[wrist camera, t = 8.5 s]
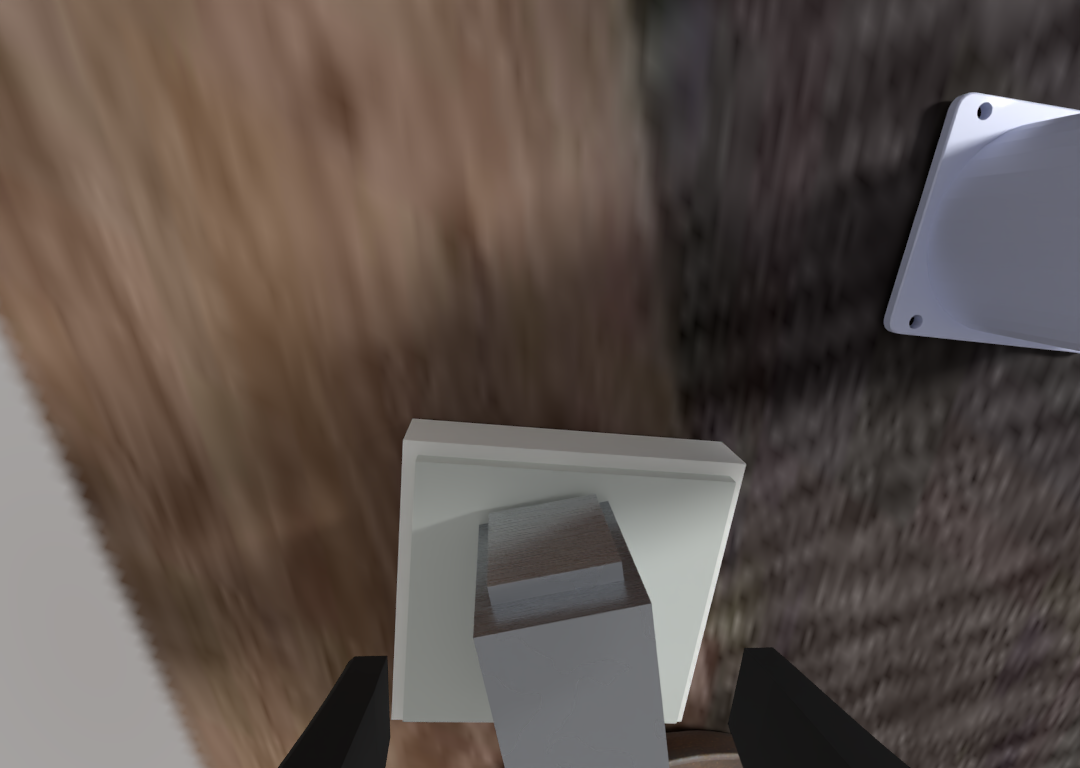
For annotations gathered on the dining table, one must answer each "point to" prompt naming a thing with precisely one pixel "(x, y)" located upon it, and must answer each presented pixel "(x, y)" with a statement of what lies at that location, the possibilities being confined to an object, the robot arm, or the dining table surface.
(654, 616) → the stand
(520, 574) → the block
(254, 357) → the dining table surface
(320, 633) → the dining table surface
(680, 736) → the plant saucer
